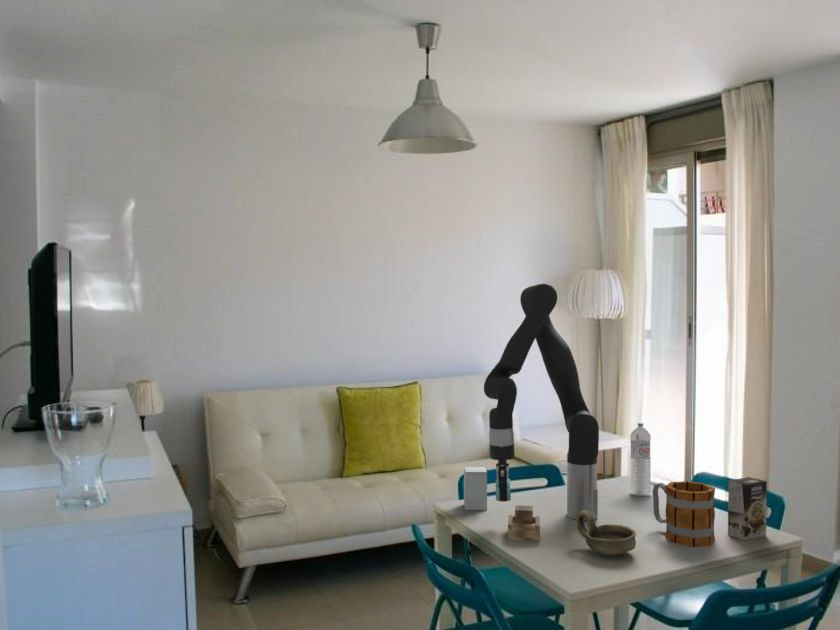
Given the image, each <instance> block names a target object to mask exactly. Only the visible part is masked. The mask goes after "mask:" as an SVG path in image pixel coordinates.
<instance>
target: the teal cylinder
mask: <svg viewBox="0 0 840 630" xmlns="http://www.w3.org/2000/svg"><path fill="white" fill-rule="evenodd" d="M500 484H505V482H500ZM498 485H499V481H498V480H497V478H496V479H495V500H496V501H497V502H510V501H511V500H512V499H511V497H512V496H511V479H510V478H508V481H507V486H508V487H507V501H500V493H499V488H498Z"/></svg>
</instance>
